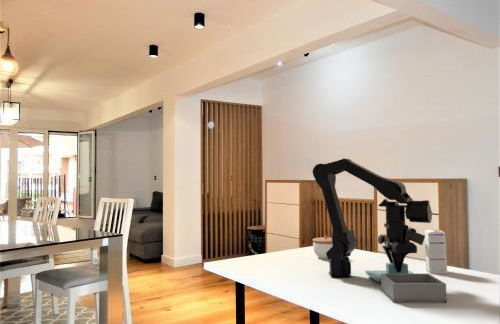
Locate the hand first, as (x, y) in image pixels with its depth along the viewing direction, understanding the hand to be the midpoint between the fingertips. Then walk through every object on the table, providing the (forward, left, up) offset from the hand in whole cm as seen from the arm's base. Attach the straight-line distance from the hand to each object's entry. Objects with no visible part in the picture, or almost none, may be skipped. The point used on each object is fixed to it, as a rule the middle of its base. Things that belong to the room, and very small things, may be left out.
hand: (396, 270), depth 120 cm
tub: (0, -12, -4) cm, 13 cm away
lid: (0, +4, -4) cm, 6 cm away
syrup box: (+19, +16, -4) cm, 25 cm away
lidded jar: (-16, +41, -4) cm, 44 cm away
